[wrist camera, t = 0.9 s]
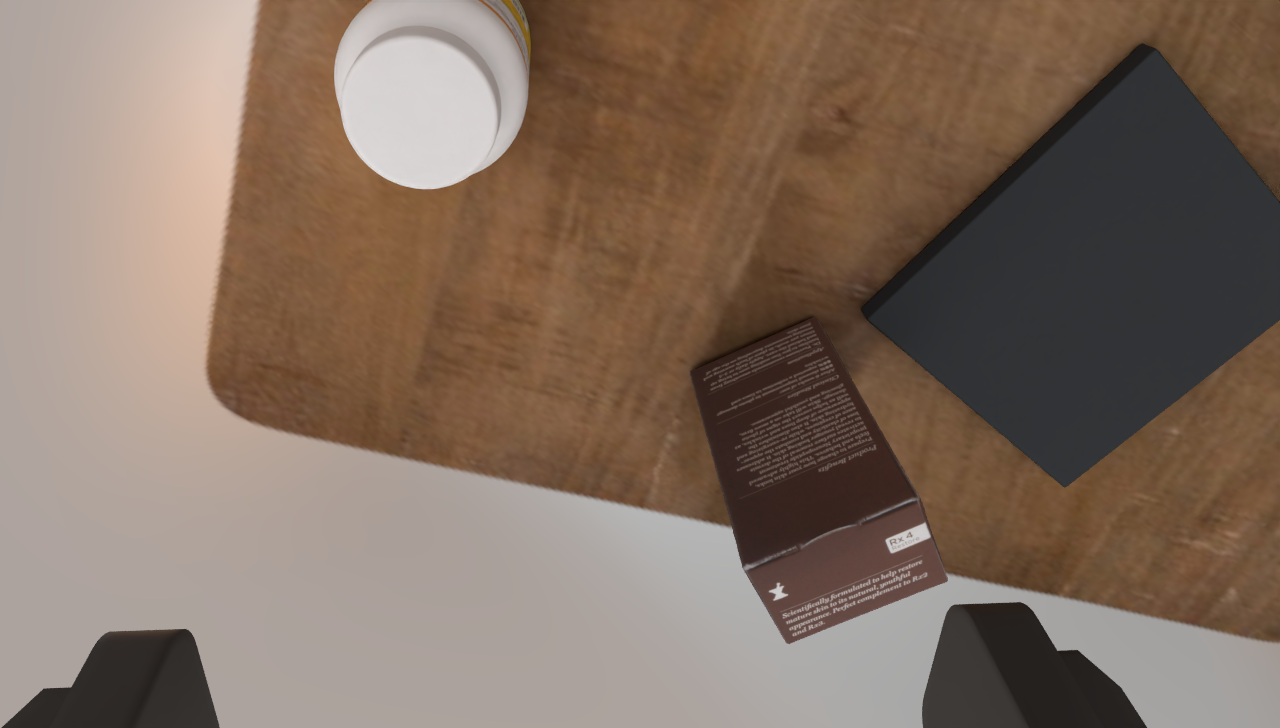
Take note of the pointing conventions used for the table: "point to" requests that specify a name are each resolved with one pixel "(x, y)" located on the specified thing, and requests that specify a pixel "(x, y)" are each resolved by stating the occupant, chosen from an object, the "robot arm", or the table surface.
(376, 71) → the supplement bottle
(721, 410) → the box
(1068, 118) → the charcoal mat
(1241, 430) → the table surface
